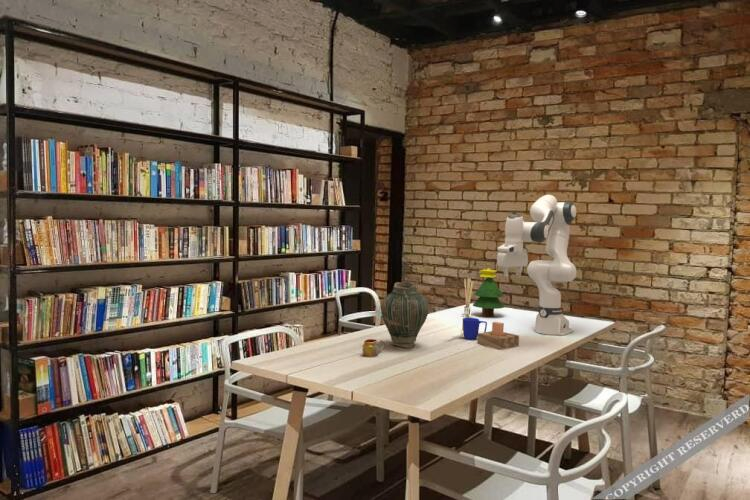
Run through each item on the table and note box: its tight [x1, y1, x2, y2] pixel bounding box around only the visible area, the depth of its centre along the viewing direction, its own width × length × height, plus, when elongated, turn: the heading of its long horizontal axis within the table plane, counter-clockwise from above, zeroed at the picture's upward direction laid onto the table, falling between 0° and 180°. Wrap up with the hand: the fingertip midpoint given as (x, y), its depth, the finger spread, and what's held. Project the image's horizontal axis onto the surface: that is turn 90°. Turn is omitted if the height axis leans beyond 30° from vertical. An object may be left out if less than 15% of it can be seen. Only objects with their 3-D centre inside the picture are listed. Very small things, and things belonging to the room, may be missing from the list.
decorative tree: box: [472, 267, 505, 318], centre depth 350 cm, size 19×19×30 cm
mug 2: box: [462, 317, 488, 341], centre depth 285 cm, size 8×12×10 cm
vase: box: [380, 281, 430, 349], centre depth 266 cm, size 22×22×30 cm
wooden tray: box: [476, 330, 520, 351], centre depth 274 cm, size 14×14×5 cm
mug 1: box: [362, 338, 385, 358], centre depth 250 cm, size 12×7×7 cm, turn 131°
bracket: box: [491, 321, 506, 337], centre depth 273 cm, size 4×4×11 cm
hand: (512, 276), depth 277 cm, fingers open, 8 cm apart
